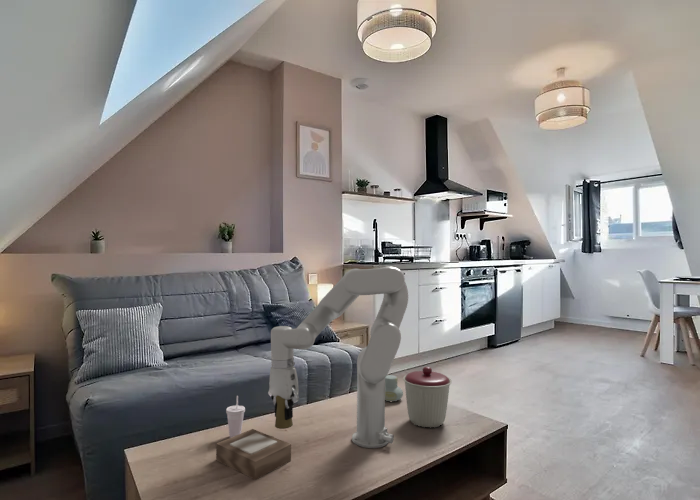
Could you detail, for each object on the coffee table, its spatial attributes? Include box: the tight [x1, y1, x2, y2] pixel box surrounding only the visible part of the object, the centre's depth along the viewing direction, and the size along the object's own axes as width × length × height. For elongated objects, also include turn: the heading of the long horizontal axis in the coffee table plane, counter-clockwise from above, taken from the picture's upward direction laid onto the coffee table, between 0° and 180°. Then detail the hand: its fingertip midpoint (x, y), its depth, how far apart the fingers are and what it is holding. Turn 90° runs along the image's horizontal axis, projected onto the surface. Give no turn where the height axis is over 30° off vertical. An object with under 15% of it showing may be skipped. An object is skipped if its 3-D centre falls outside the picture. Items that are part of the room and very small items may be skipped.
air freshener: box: [385, 374, 404, 402], centre depth 184 cm, size 11×8×10 cm
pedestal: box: [215, 428, 292, 481], centre depth 128 cm, size 18×14×5 cm
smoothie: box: [225, 395, 246, 438], centre depth 144 cm, size 6×6×14 cm
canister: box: [402, 366, 452, 429], centre depth 159 cm, size 18×18×21 cm
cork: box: [274, 395, 294, 430], centre depth 142 cm, size 6×6×11 cm
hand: (283, 416), depth 142 cm, fingers closed on cork, 4 cm apart
